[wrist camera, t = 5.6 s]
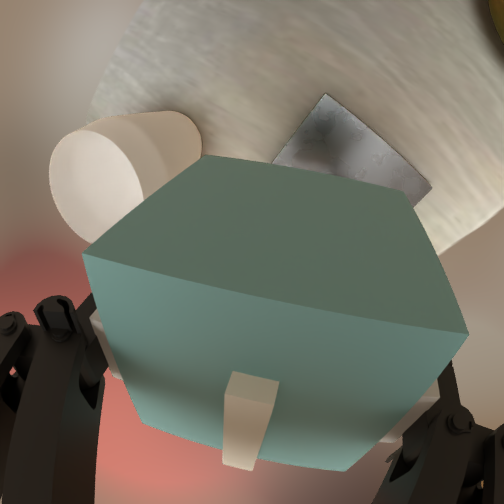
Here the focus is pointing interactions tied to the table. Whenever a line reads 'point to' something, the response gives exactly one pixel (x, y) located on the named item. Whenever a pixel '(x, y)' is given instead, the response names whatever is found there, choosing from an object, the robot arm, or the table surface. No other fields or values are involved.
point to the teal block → (274, 311)
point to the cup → (118, 166)
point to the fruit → (498, 16)
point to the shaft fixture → (349, 151)
